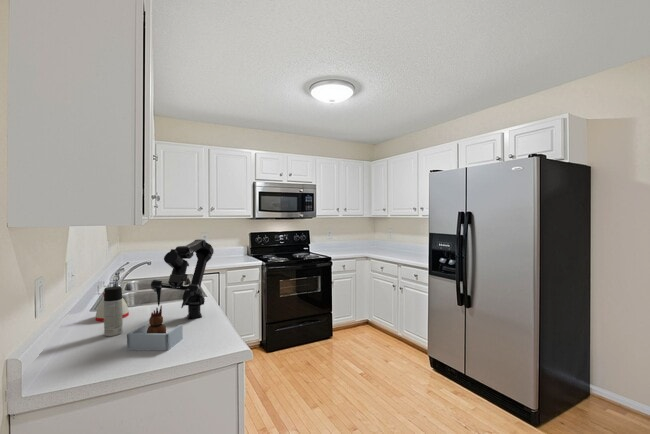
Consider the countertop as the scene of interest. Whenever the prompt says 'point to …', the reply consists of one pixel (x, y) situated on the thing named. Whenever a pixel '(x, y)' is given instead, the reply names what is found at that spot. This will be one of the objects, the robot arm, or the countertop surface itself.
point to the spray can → (113, 311)
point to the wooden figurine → (156, 323)
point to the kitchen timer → (101, 310)
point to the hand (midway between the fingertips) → (170, 306)
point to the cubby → (153, 339)
